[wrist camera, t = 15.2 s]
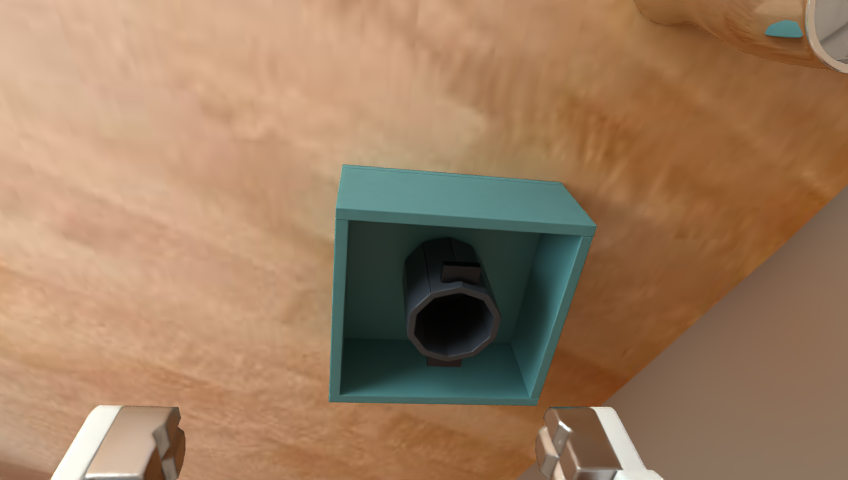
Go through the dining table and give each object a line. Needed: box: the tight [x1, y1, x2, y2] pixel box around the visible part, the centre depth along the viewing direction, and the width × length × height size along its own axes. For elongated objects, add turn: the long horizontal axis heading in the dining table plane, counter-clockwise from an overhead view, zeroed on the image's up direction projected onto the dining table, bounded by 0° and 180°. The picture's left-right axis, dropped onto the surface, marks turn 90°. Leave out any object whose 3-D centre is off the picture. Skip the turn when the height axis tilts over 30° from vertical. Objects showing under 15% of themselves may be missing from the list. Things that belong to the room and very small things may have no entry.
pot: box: [402, 237, 501, 367], centre depth 37 cm, size 9×6×7 cm
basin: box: [329, 165, 597, 406], centre depth 37 cm, size 17×17×7 cm
